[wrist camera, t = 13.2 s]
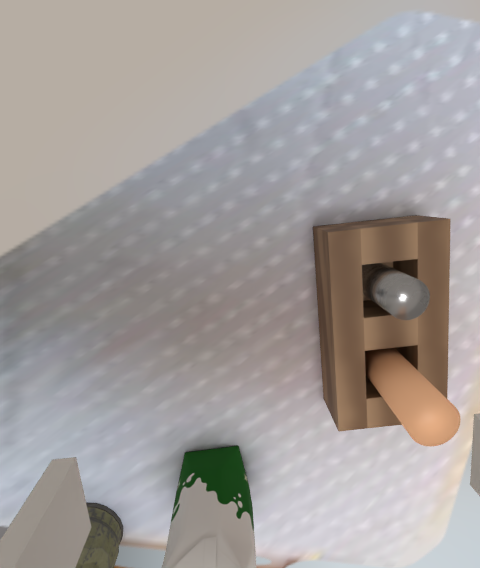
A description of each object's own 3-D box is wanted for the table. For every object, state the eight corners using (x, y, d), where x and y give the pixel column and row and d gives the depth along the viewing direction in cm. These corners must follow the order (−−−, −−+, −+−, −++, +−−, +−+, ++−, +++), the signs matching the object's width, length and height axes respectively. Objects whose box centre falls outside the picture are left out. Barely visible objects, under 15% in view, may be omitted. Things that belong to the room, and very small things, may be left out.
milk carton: (176, 447, 50) (142, 606, 31) (245, 438, 50) (254, 592, 31) (187, 503, 52) (161, 686, 33) (253, 494, 52) (266, 672, 33)
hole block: (323, 398, 49) (338, 431, 42) (312, 226, 44) (327, 232, 37) (416, 388, 49) (446, 419, 42) (416, 215, 44) (450, 218, 37)
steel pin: (352, 295, 45) (386, 322, 35) (351, 261, 44) (385, 280, 34) (386, 291, 45) (429, 317, 35) (386, 258, 44) (429, 275, 34)
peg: (353, 368, 47) (408, 449, 33) (352, 335, 46) (407, 403, 32) (389, 364, 47) (459, 443, 33) (388, 331, 46) (460, 396, 32)
